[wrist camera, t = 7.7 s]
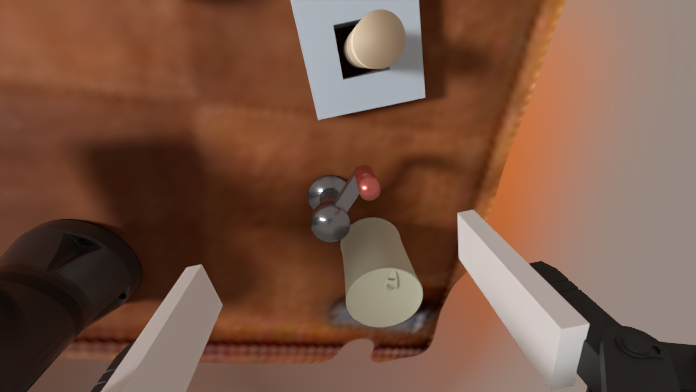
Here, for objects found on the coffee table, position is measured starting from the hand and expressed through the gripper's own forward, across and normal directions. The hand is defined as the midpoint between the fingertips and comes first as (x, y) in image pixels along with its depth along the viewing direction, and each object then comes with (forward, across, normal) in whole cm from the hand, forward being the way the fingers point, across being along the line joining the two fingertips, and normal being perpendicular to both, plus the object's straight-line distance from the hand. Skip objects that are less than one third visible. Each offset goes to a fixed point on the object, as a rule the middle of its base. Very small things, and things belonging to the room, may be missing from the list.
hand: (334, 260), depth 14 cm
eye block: (+25, +6, +10) cm, 27 cm away
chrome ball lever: (+18, 0, -5) cm, 19 cm away
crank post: (+25, -2, -8) cm, 26 cm away
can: (+25, +3, -17) cm, 30 cm away
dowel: (+25, +6, +10) cm, 27 cm away
